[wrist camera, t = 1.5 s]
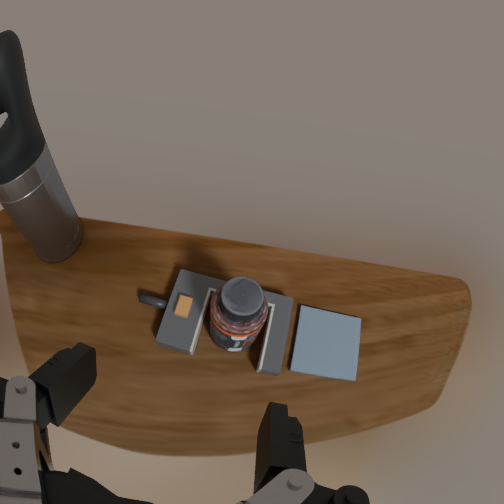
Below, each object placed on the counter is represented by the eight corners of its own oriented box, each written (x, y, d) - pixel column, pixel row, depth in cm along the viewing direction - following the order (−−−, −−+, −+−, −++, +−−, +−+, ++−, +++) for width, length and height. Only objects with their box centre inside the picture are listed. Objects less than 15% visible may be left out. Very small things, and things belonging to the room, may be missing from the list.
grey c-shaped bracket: (129, 334, 34) (123, 327, 31) (155, 268, 39) (152, 257, 36) (276, 376, 34) (281, 372, 31) (289, 304, 39) (295, 295, 36)
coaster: (289, 370, 34) (290, 370, 34) (300, 306, 39) (301, 305, 38) (353, 381, 34) (355, 380, 34) (359, 319, 39) (361, 318, 38)
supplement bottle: (245, 361, 34) (260, 337, 25) (201, 341, 35) (197, 310, 25) (263, 320, 37) (283, 281, 28) (221, 301, 38) (225, 257, 28)
